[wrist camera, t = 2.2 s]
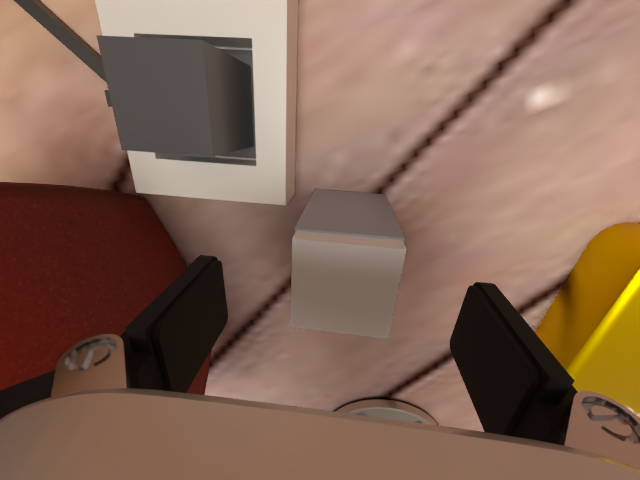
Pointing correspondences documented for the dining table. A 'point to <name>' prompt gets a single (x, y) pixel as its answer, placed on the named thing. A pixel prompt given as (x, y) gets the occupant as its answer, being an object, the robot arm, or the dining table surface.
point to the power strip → (267, 94)
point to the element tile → (601, 318)
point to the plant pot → (75, 272)
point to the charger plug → (346, 264)
